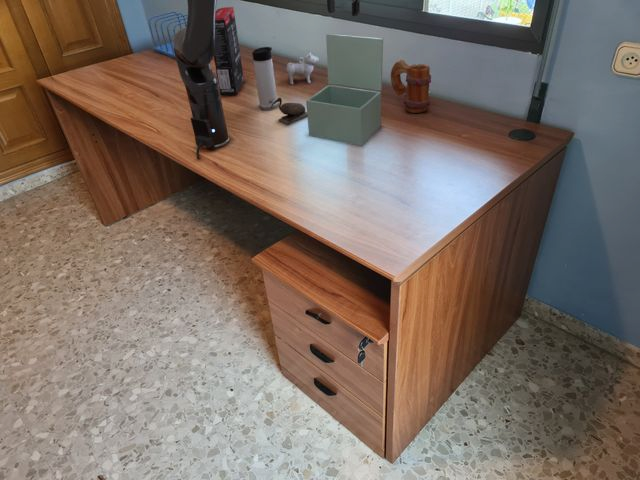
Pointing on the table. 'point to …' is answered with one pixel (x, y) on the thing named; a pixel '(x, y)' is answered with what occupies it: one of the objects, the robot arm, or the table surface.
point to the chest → (344, 114)
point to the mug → (412, 85)
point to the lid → (355, 61)
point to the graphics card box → (227, 52)
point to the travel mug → (265, 77)
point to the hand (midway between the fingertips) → (343, 14)
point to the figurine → (291, 112)
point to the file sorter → (168, 47)
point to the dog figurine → (302, 67)
